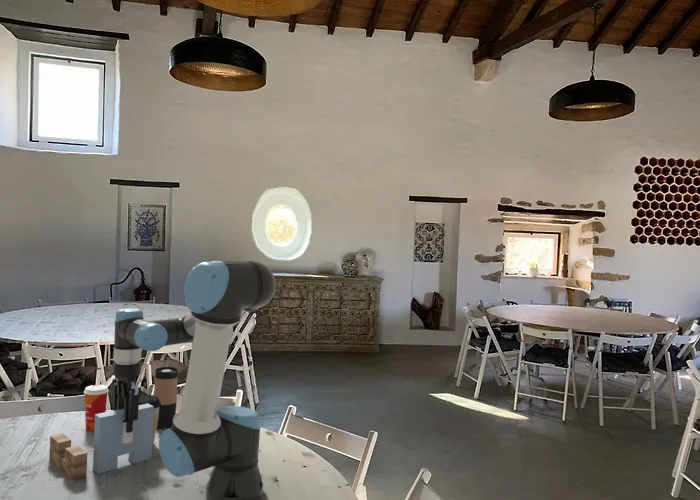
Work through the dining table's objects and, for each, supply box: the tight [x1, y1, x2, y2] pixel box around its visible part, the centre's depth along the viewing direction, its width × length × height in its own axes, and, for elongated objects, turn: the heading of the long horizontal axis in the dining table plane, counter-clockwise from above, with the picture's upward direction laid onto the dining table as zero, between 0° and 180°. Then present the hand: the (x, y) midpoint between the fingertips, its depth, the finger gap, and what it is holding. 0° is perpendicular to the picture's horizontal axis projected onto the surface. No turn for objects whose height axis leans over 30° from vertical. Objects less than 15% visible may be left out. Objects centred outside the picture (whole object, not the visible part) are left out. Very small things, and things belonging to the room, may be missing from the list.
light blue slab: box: [92, 404, 154, 474], centre depth 162 cm, size 4×16×16 cm, turn 137°
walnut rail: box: [48, 433, 88, 482], centre depth 157 cm, size 18×4×7 cm, turn 47°
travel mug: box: [153, 366, 179, 430], centre depth 193 cm, size 8×8×20 cm
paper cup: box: [83, 384, 109, 432], centre depth 187 cm, size 8×8×14 cm
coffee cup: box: [139, 394, 161, 447], centre depth 176 cm, size 9×9×15 cm
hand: (123, 440), depth 162 cm, fingers closed on light blue slab, 3 cm apart
